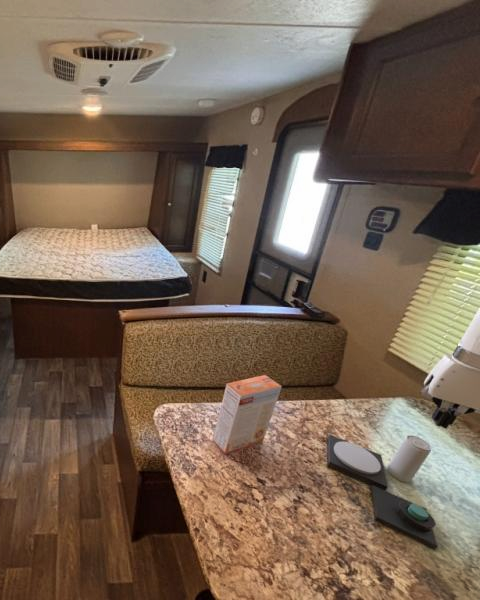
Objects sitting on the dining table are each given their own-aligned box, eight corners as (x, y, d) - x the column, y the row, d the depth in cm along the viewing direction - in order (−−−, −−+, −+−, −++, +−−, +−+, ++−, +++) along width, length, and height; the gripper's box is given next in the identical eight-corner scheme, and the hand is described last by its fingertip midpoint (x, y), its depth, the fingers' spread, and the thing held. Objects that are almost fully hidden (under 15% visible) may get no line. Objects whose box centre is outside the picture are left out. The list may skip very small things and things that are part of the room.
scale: (378, 459, 89) (382, 452, 88) (384, 492, 80) (389, 484, 79) (326, 439, 95) (329, 432, 94) (326, 466, 86) (330, 459, 85)
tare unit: (423, 512, 76) (429, 504, 74) (434, 549, 68) (441, 541, 67) (369, 488, 81) (374, 480, 80) (374, 520, 73) (379, 512, 72)
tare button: (423, 513, 73) (426, 508, 72) (426, 524, 70) (430, 519, 70) (406, 505, 74) (409, 501, 74) (408, 515, 72) (411, 511, 71)
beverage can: (386, 464, 88) (406, 431, 83) (410, 475, 85) (432, 442, 80) (385, 474, 85) (405, 441, 80) (410, 487, 82) (432, 453, 77)
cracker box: (247, 428, 98) (265, 373, 90) (263, 443, 93) (284, 386, 84) (210, 438, 94) (226, 381, 85) (224, 455, 88) (242, 396, 80)
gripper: (524, 362, 67) (478, 427, 74) (426, 340, 74) (394, 402, 82) (544, 380, 61) (493, 449, 68) (436, 354, 69) (400, 419, 76)
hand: (439, 423), depth 75 cm, fingers closed
